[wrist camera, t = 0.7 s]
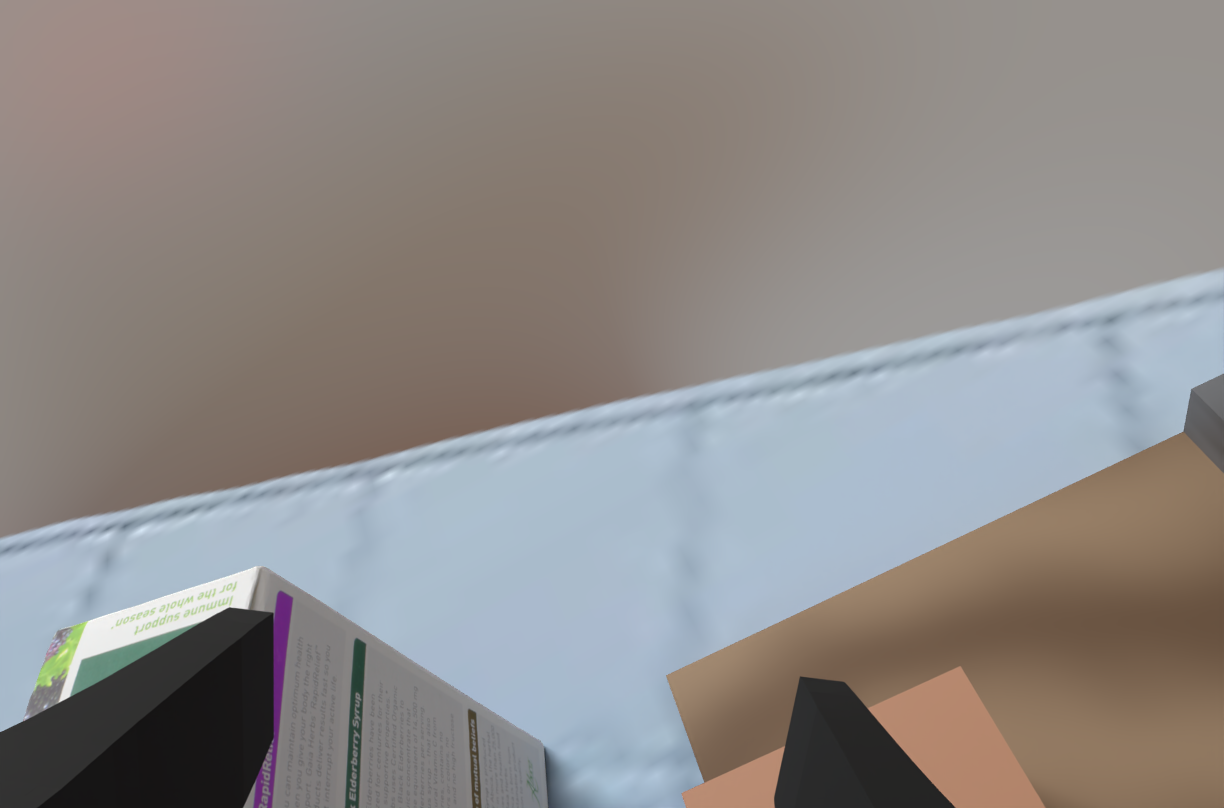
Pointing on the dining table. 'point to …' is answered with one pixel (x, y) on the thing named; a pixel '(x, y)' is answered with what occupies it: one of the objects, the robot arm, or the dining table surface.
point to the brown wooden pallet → (1030, 635)
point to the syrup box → (326, 705)
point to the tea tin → (910, 753)
